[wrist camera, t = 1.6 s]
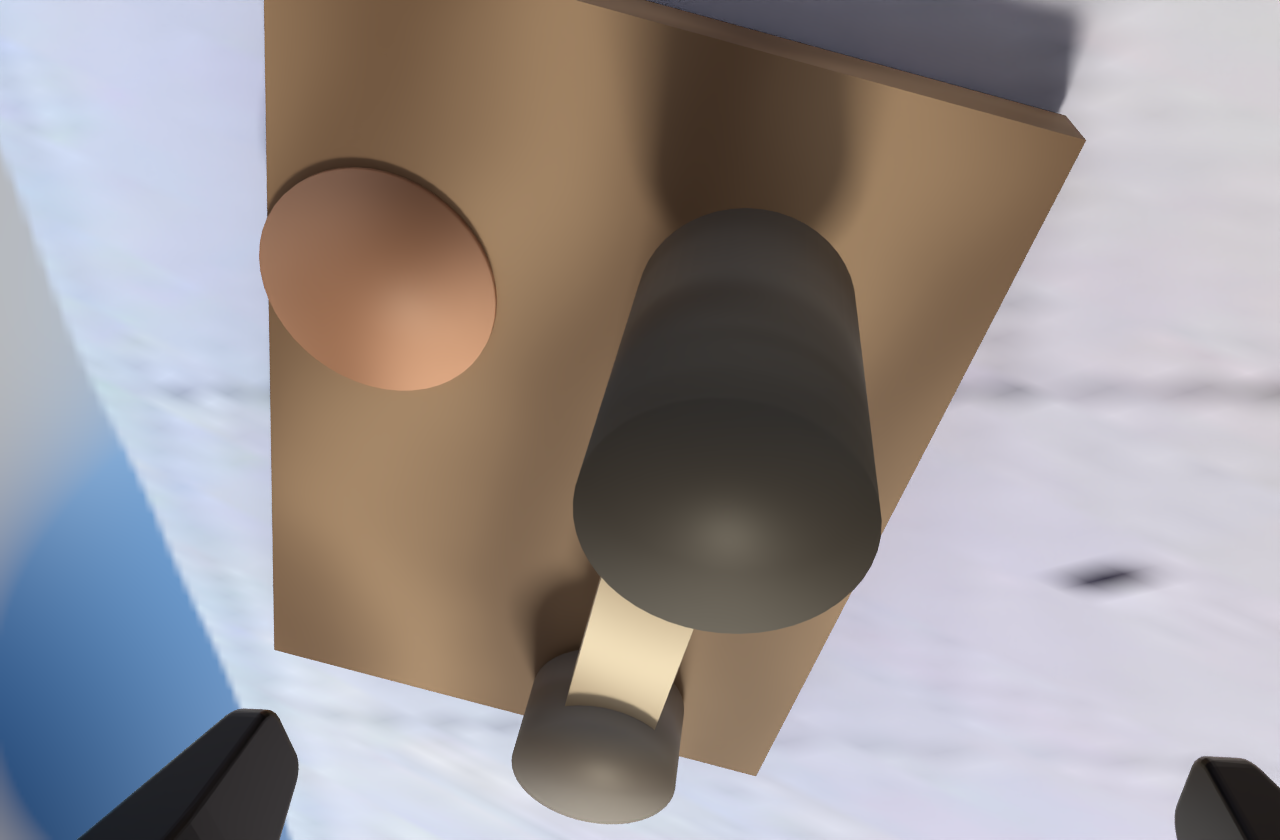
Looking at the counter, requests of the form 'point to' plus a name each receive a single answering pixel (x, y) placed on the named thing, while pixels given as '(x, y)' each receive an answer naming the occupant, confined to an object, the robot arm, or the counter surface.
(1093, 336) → the counter surface
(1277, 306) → the counter surface
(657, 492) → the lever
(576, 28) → the board
